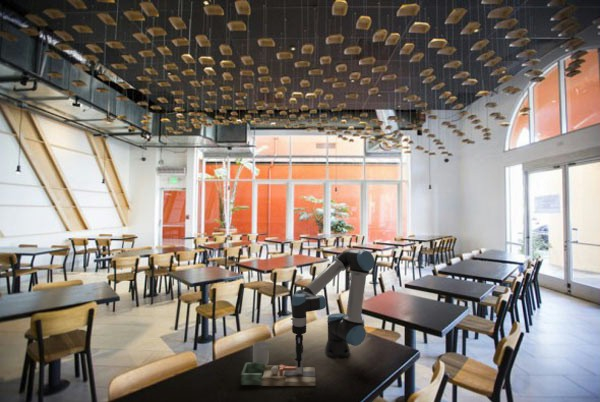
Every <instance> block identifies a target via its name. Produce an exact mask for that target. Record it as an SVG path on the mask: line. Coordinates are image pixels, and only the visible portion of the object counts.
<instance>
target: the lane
mask: <svg viewBox="0 0 600 402" xmlns="http://www.w3.org/2000/svg"><path fill="white" fill-rule="evenodd" d="M273 366H277V367H278V369H279V371H278V373H277V374H276V375H274V374H272V373H271V368H272V367H273ZM283 366H288V365H284V364H283ZM316 382H317V381H316V370H315V367H310V366H308V367H307V366H306V367H304V366H303V375H296V371H283V376H280V364H279V365H276V364H274V365H271V364H270V365H269V364H267V365H265V362H253V361H252V362H245V363H244V366H243V368H242V370H241V372H240V386H261V387H262V386H263V387H265V386H266V387H267V386H268V387H277V386H280V387H284V386H285V387H286V386H287V387H289V386H290V387H291V386H293V387H294V386H295V387H297V386H298V387H299V386H300V387H301V386H303V387H307V386H308V387H311V386H312V387H315V386H316V384H317V383H316Z"/></svg>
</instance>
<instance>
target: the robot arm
mask: <svg viewBox="0 0 600 402" xmlns="http://www.w3.org/2000/svg"><path fill="white" fill-rule="evenodd" d="M374 267H375V257H374V256H373V254H372V252H370V251H368V250H365V249H358V248H357V249H356V248H348V249H345V250H344V251H342V252H340V253H339V254H337V256H335V257H334V258H333V260H332V262H331V263H330V264H329V265H328V266H327V267H326V268H325V269H324V270H323V271H322V272H321V273H320V274H318V275H317V276H315V278H314V279H313V280H311V282H310V283H308V284H307V285H306V286H305V287H304V288H303V289H297V290H296V291H295V293H293V295H292V297H291V310H292V311H291V314H292V316H291V318H290V321H291V320H292V321H291V323H292V326H291V332H292V334H294V335H295V339H294V340H295V347H296V346H297V356H296V355H295V359H294V360H295V366H296V373H302V358H301V346H303V347H304V344H303V340H304V335H305V334H306V333H307V313H310V312H315V311H320V310H324V309H325V308H326V306H327V300H326V297H325V296H324V295H323V294H320V293H319V292H321V291H322V290H323V289H324V288H325V287H326V286H327V285H329V283H330V282H331V281H333V280H334V279H335V278H336V276H338V275H339V274H340V273H341V272H344V271H345V270H347V269H348V268H349V272H350V274H351V275H350V284H349V291H348V297H347V299H348V300H347V305H346V306H347V307H346V314H345V313H341V312H340V313H339V312H338V313H337V312H336V313H332V314H329V315H328V316H327V321H326V322H327V341H326V345H325V349H324V350H325V351H324V352H325V355H326V356H328V357H331V358H335V359H342V358H343V359H344V358H348V357H349V356H350V355H351V353H350V352H351V350H350V346H354V347H357V346H360V345H361V344H362V343H363V342H364V341H365V339H366V336H367V335H366V334H367V333H366V332H367V331H366V329H365V327H364V325H363V324H364V321H363V319H362V311H363V304H364V296H365V295H364V294H365V288H366V279H367V276H368V275H370V271H372V270H373V268H374ZM349 345H350V346H349Z"/></svg>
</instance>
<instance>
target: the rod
mask: <svg viewBox="0 0 600 402" xmlns="http://www.w3.org/2000/svg"><path fill="white" fill-rule="evenodd" d="M296 356H297V346H296V345H295V357H296ZM301 358H302V373H296V375H303V367H304V345H303V346H301ZM279 365H280V376H283V371H296V365H295V366H291V365H290V366H289V365H287V366H283V365H284V364H279Z"/></svg>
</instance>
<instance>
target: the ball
mask: <svg viewBox="0 0 600 402" xmlns="http://www.w3.org/2000/svg"><path fill="white" fill-rule="evenodd" d="M278 371H279V369H278V367H277V366H273V367H272V368H271V373H272V374H274V375H276V374H277V373H278Z"/></svg>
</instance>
